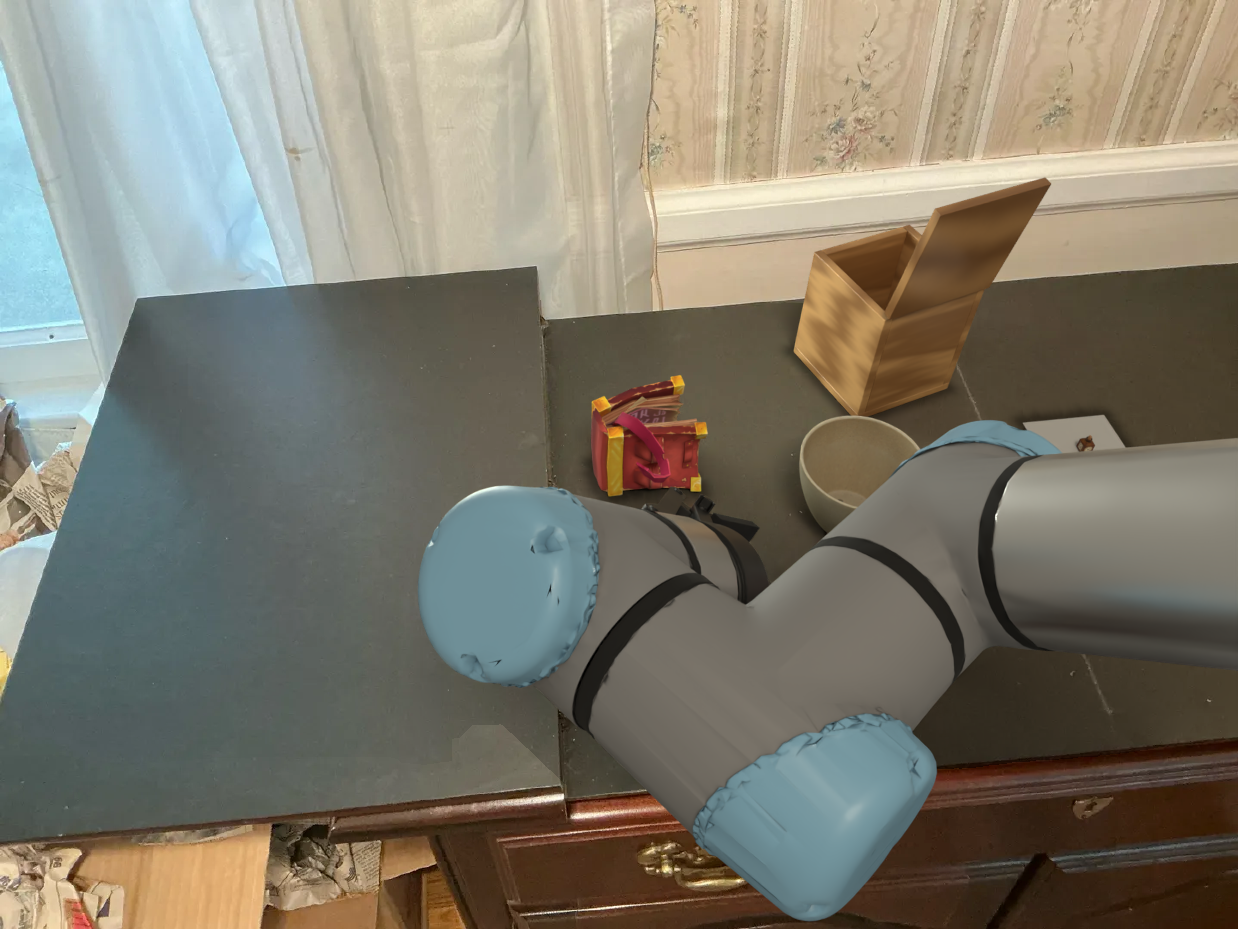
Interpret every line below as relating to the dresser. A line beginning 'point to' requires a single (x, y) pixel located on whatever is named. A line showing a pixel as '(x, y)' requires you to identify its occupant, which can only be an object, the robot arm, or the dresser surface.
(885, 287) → the chest
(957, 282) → the chest lid
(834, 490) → the bowl
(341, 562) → the dresser surface
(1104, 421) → the white flat square
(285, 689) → the dresser surface
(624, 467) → the book monster
